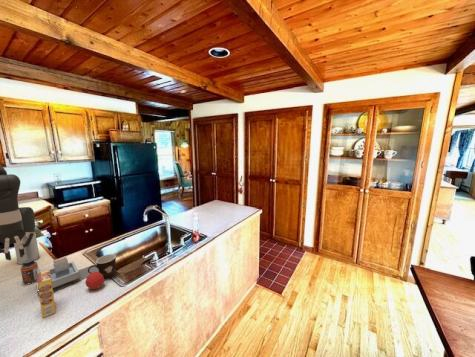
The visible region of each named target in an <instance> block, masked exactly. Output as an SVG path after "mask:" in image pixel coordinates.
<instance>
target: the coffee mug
mask: <svg viewBox="0 0 475 357" xmlns="http://www.w3.org/2000/svg"><path fill="white" fill-rule="evenodd" d="M116 260H117V256H116V254H112V253H110V254H105V255H101V256H100V257H98V258H97V259H96V261H95V262H96V263H95V264H97V265H94V264H93V266H91V265H90V266H91V267H97V268H98V270H99V273H101V274H103V273H104V274H103V277H104V281H107V280H110V279H112V278H113V277H115V276H116V265H117V263H116ZM88 267H89V266H88ZM91 267H89V268H88V272H89V269H90V268H91ZM89 273H90V274H91V272H89Z"/></svg>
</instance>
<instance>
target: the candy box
mask: <svg viewBox="0 0 475 357" xmlns="http://www.w3.org/2000/svg"><path fill="white" fill-rule="evenodd" d="M47 270H48V271H46V270H43V271H44V272H43V271H41V272H42V273H39V274H37V281H36V282H37V285H38V290H39V297H38V298H39V304H40V305H39V306H40V310H41V318H42V319H44V318H46V317H48V316H50V315H53V314H55V313H56V304H55V296H54V291H53V287H52V280H51V275H50V270H49V269H47Z"/></svg>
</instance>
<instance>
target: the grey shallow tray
mask: <svg viewBox="0 0 475 357" xmlns="http://www.w3.org/2000/svg"><path fill="white" fill-rule="evenodd" d="M68 265H69V272H70V274H69V275H66V276H63V277H60V278H58V279H56V276H55V270H54V267H53V268H49V269H47V270H43V271H41V269H40V268H38V269H37V274H39V273H42V272H44V271H48V270H50V275H51V280H52V287H53V288H54V287H57V286H59V285H62V284H65V283H67V282H70V281H72V282H74V283H76V282H75V281H76V280H77V278H80V277H79V271H78V270H79V269H78V267H77V266H76V264H75V261H70V262H68Z"/></svg>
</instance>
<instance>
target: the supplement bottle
mask: <svg viewBox="0 0 475 357" xmlns="http://www.w3.org/2000/svg"><path fill="white" fill-rule="evenodd" d="M37 269H39V264H38V262H36V261H34V259H28V260H25V261H23V264H22V265H21V267H20V272H21V273H20V274H21V278H22V279H21V280H22V284H23V283H24V285H29V284H28V283H31V284H33V283H35V281H36V282H37ZM32 282H33V283H32Z"/></svg>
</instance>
